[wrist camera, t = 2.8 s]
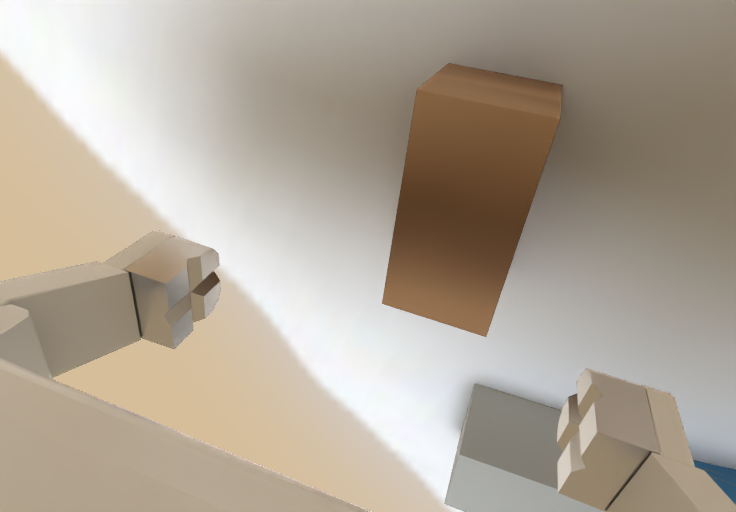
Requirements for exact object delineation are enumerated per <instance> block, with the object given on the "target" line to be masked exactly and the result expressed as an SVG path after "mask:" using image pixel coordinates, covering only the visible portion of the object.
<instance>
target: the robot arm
mask: <svg viewBox="0 0 736 512" xmlns="http://www.w3.org/2000/svg"><path fill="white" fill-rule="evenodd" d="M218 266H219V256H218V253H217V252H216V251H215V250H214V249H212V248H209V247H206V246H203V245H201V244H198V243H195V242H192V241H189V240H186V239H183V238H180V237H176V236H174V235H171V234H168V233H165V232H162V231H152V232H150V233H149V234H147V235H146V236H144V237H143V238H141V239H139V240H138V241H136V242H135V243H133V244H132V245H130V246H128V247H127V248H125V249H124V250H122V251H121V252H119V253H117V254H116V255H114V256H113V257H111V258H110V259H108V260H107V261H105V262H103V263H100V262H97V261H96V262H91V263H86V264H81V265H76V266H71V267H66V268H62V269H57V270H53V271H48V272H42V273H37V274H33V275H28V276H23V277H18V278H13V279H9V280H4V281H0V512H372V511H370V510H367V509H365V508H362V507H360V506H357V505H355V504H353V503H350V502H348V501H345V500H343V499H341V498H338V497H336V496H333V495H331V494H328V493H326V492H324V491H321V490H319V489H316V488H314V487H312V486H309V485H307V484H304V483H302V482H300V481H297V480H295V479H292V478H290V477H288V476H285V475H283V474H280V473H278V472H275V471H273V470H271V469H268V468H266V467H263V466H260V465H258V464H256V463H253V462H251V461H249V460H247V459H244V458H241V457H239V456H237V455H234V454H232V453H229V452H227V451H225V450H222V449H220V448H218V447H215V446H213V445H210V444H208V443H206V442H203V441H201V440H198V439H196V438H193V437H191V436H189V435H186V434H184V433H181V432H179V431H177V430H174V429H172V428H169V427H167V426H164V425H162V424H160V423H157V422H155V421H152V420H150V419H147V418H145V417H143V416H140V415H138V414H135V413H133V412H131V411H128V410H126V409H123V408H121V407H118V406H116V405H113V404H111V403H109V402H106V401H104V400H101V399H99V398H97V397H94V396H92V395H89V394H87V393H85V392H82V391H80V390H77V389H75V388H72V387H70V386H68V385H65V384H63V383H60V382H58V381H56V380H53V379H52V378H53V377H55V376H58V375H60V374H62V373H65V372H67V371H69V370H72V369H74V368H76V367H79V366H81V365H83V364H86V363H88V362H90V361H92V360H95V359H97V358H100V357H102V356H104V355H107V354H109V353H111V352H114V351H116V350H118V349H121V348H123V347H125V346H127V345H130V344H132V343H134V342H137V341H139V340H141V338H143V339H146V340H149V341H151V342H154V343H157V344H160V345H163V346H166V347H169V348H172V349H175V348H176V347H177V346H178V345H179V344H180V343H181V342H182V341H183V340H184V339H185V338H186V337H187V336H188V335H189V334H190V333H191V332H192V331H193V322H196V321H199V320H202V319H204V318H206V317H207V316H208V315H209V314H210V313H211V312H212V311H213V309H214V307H215V305H216V303H217V301H218V299H219V295H220V289H221V288H220V280H219V278H218V277H217V275H216V274H215V272H214V271H215V270H216V268H217V267H218ZM557 443H558V445H559V446H560V448H561V449H562V451H563V453H562V455H561V457H560V459H559V460H558V462H557V468H558V493H560V494H562V495H565V496H567V497H570V498H572V499H574V500H577V501H579V502H582V503H584V504H587V505H589V506H592V507H594V508H597V509H599V510H602V511H604V512H736V505H735V504H734V503H733V502H732V500H731V499H730V498H729V497H728V496H727V495H726V494H725V493H724V492H723V491H722V489H721V488H720V487H719V486H718V485H717V484H716V483H715V482H714V481H713V480H712V478H711V477H710V476H709V475H708V474H707V473H706V472H705V471H704V470H702V469H699V468H696V467H695V465H694V462H693V458H692V455H691V452H690V448H689V445H688V442H687V438H686V435H685V432H684V428H683V425H682V421H681V418H680V415H679V411H678V408H677V405H676V401H675V398H674V397H673V396H672V395H671V394H670V393H668V392H664V391H661V390H658V389H654V388H651V387H647V386H644V385H638V384H635V383H632V382H629V381H626V380H622V379H619V378H616V377H613V376H610V375H607V374H603V373H600V372H597V371H594V370H591V369H587V368H586V369H585V370H584V371H583V372H582V374H581V375H580V377H579V379H578V381H577V394H575V395H572V396H570V397H568V399H567V401H566V403H565V405H564V407H563V409H562V412H561V415H560V418H559V422H558V430H557Z"/></svg>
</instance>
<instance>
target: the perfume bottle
mask: <svg viewBox="0 0 736 512" xmlns="http://www.w3.org/2000/svg"><path fill="white" fill-rule="evenodd" d="M693 462H694V465H695V467H696V468H699V469H702V470H704V471H705V472H706V473H707V474H708V475H709V476H710V477H711V478H712V480H713V481H714V482H715V483H716V484H717V485H718V486H719V487H720V488H721V489H722V491H723V492H724V493H725V494H726V495H727V496H728V497H729V498H730V499H731V500H732V502H733V503H734V504H735V505H736V470H734V469H730V468H725V467H721V466H716V465H712V464H707V463H703V462H698V461H694V460H693Z"/></svg>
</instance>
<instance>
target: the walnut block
mask: <svg viewBox="0 0 736 512" xmlns="http://www.w3.org/2000/svg"><path fill="white" fill-rule="evenodd" d="M562 86H563V85H560V84H555V83H550V82H545V81H539V80H534V79H529V78H523V77H518V76H513V75H508V74H502V73H497V72H492V71H486V70H481V69H476V68H471V67H465V66H460V65H455V64H447V65H446V66H445V67H444V68H442V69H441V70H440V71H439V72H438V73H436V74H435V75H434V76H433V77H431V78H430V79H429V80H428V81H427V82H425V83H424V84H423V85H422V86H421V87H419V88H418V89H417V92H416V98H415V104H414V110H413V116H412V123H411V129H410V135H409V141H408V147H407V153H406V159H405V166H404V172H403V178H402V184H401V190H400V196H399V203H398V209H397V215H396V221H395V227H394V233H393V239H392V246H391V252H390V258H389V264H388V270H387V276H386V282H385V289H384V295H383V301H382V304H385V305H388V306H391V307H394V308H397V309H400V310H404V311H407V312H410V313H413V314H416V315H419V316H422V317H425V318H429V319H432V320H435V321H438V322H441V323H444V324H447V325H450V326H454V327H457V328H460V329H463V330H466V331H469V332H472V333H475V334H479V335H482V336H485V337H486V335H487V333H488V330H489V327H490V324H491V321H492V318H493V315H494V312H495V309H496V306H497V303H498V300H499V297H500V294H501V291H502V289H503V286H504V283H505V280H506V277H507V274H508V271H509V268H510V265H511V262H512V259H513V256H514V253H515V250H516V247H517V245H518V242H519V239H520V236H521V233H522V230H523V227H524V224H525V221H526V218H527V215H528V212H529V209H530V206H531V203H532V201H533V198H534V195H535V192H536V189H537V186H538V183H539V180H540V177H541V174H542V171H543V168H544V165H545V162H546V159H547V157H548V154H549V151H550V148H551V145H552V142H553V139H554V136H555V133H556V130H557V127H558V124H559V121H560V116H561V101H562Z"/></svg>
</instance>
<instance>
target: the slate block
mask: <svg viewBox="0 0 736 512" xmlns="http://www.w3.org/2000/svg"><path fill="white" fill-rule="evenodd" d="M561 412H562V411H561V410H558V409H555V408H552V407H548V406H545V405H542V404H539V403H536V402H533V401H529V400H526V399H523V398H520V397H517V396H514V395H510V394H507V393H504V392H501V391H498V390H495V389H491V388H488V387H485V386H482V385H479V384H476V383H475V386H474V389H473V392H472V396H471V399H470V403H469V406H468V410H467V413H466V417H465V420H464V423H463V427H462V430H461V434H460V439H459V443H458V447H457V452H456V456H455V460H454V465H453V469H452V473H451V478H450V482H449V486H448V491H447V495H446V499H445V504H446V505H449V506H451V507H454V508H456V509H459V510H462V511H464V512H604V511H602V510H599V509H597V508H594V507H592V506H589V505H587V504H584V503H582V502H579V501H577V500H574V499H572V498H570V497H567V496H565V495H562V494H560V493H558V468H557V462H558V460H559V459H560V457H561V455H562V453H563V451H562V449H561V448H560V446H559V445H558V443H557V430H558V422H559V418H560V415H561Z"/></svg>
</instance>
